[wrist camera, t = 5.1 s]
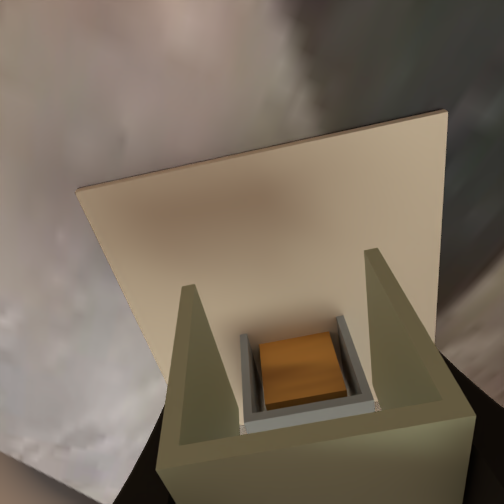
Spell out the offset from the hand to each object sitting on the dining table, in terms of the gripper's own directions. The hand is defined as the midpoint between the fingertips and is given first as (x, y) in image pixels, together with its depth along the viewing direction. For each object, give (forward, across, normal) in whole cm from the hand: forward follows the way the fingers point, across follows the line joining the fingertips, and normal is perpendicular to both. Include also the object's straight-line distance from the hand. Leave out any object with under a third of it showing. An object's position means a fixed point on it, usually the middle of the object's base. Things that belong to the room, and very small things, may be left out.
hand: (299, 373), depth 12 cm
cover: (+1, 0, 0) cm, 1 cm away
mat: (+9, 0, +5) cm, 10 cm away
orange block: (+8, 0, +9) cm, 12 cm away
